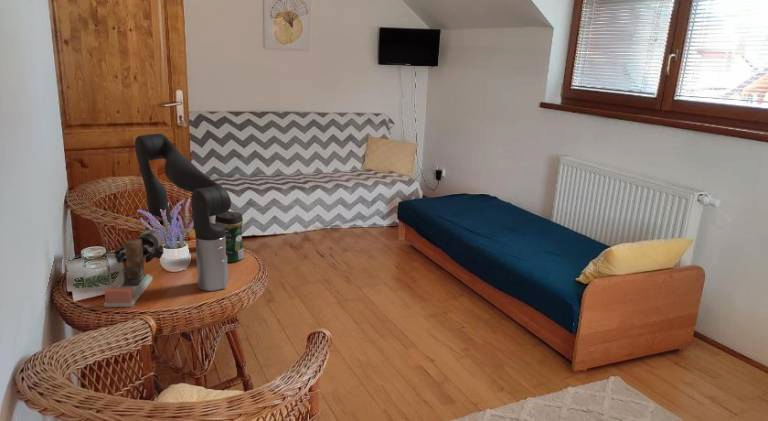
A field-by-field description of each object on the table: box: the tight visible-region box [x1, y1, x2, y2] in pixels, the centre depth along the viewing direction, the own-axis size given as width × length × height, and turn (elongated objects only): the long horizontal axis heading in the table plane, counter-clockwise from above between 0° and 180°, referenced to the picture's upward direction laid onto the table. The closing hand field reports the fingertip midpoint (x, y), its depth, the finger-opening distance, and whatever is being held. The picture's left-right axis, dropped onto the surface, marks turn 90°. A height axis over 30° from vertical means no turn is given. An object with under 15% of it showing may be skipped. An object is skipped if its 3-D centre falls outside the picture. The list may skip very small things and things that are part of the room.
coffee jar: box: [215, 210, 244, 263], centre depth 203 cm, size 10×8×19 cm
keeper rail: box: [103, 273, 153, 308], centre depth 173 cm, size 8×21×5 cm, turn 7°
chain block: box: [122, 238, 146, 285], centre depth 177 cm, size 4×7×13 cm, turn 7°
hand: (132, 259), depth 176 cm, fingers open, 8 cm apart
